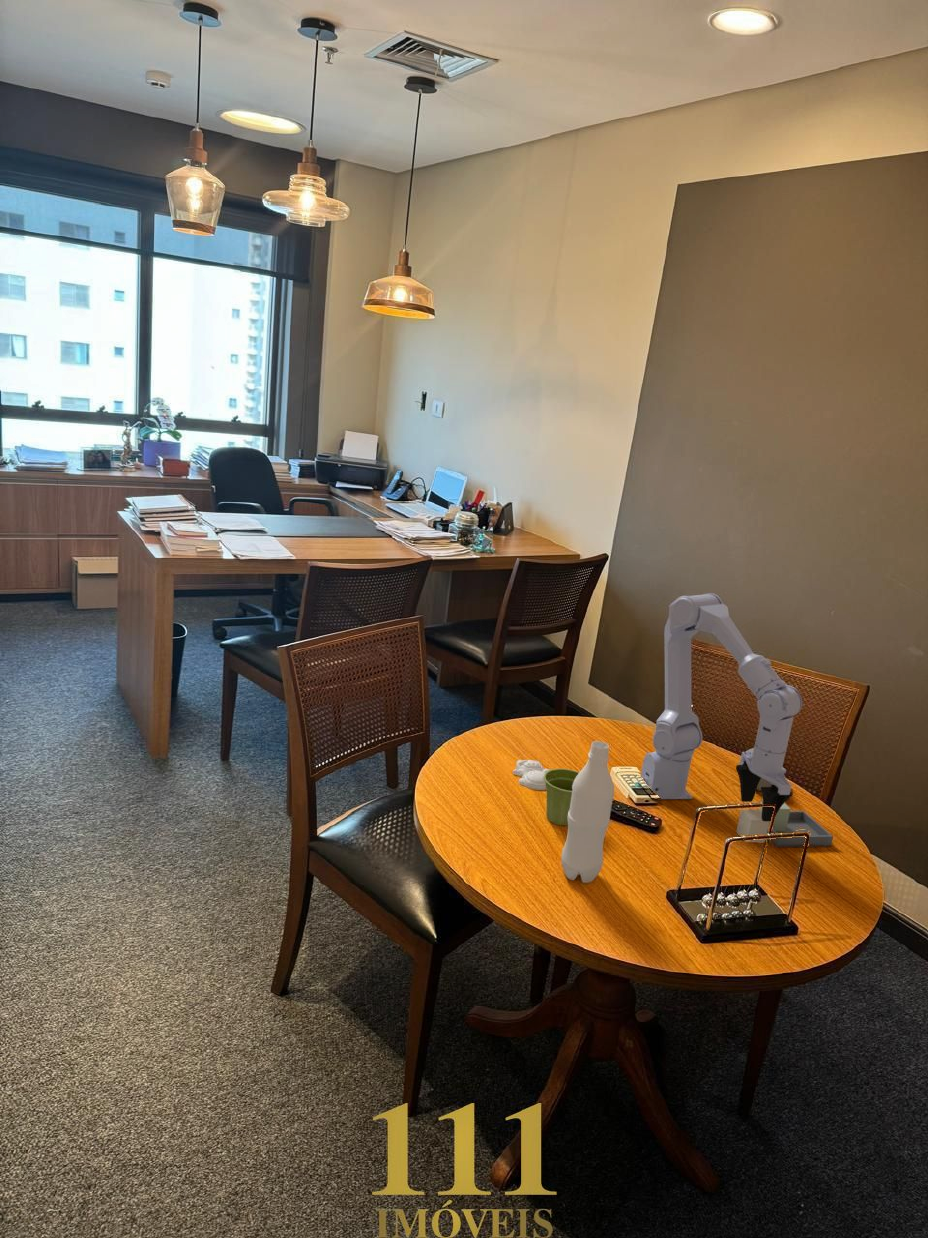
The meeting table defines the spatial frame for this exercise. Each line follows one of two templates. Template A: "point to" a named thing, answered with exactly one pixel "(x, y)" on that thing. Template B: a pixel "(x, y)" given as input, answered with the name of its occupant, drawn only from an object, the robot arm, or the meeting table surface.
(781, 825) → the sage block
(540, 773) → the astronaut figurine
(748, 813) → the grey block
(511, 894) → the meeting table surface
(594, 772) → the water bottle
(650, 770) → the robot arm
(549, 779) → the plant pot
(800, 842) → the tray
